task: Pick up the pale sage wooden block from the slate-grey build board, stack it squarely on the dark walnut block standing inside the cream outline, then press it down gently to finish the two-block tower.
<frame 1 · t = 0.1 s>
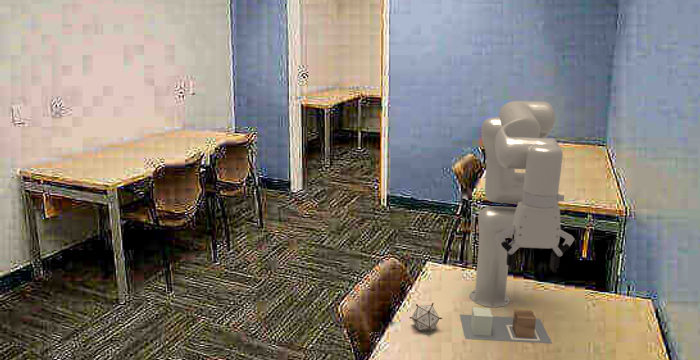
hand: (531, 269, 135), 31 cm above the table, tool pointing down, fingers open, 9 cm apart
game die: (424, 331, 168), on the table
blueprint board: (503, 330, 168), on the table
walnut block: (522, 332, 166), point 1 cm above the table, touching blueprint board
sage block: (480, 330, 166), point 1 cm above the table, touching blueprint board
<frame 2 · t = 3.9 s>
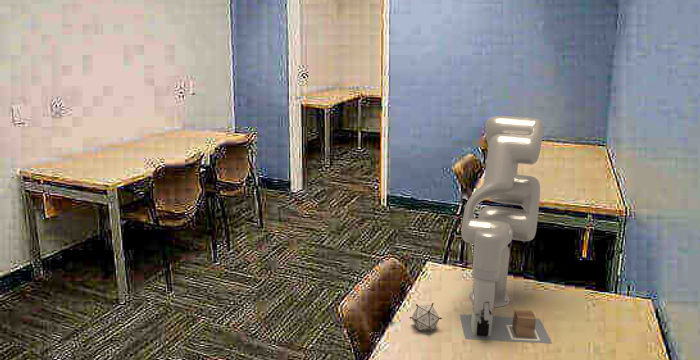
hand: (480, 329, 166), 1 cm above the table, tool pointing down, fingers closed on sage block, 5 cm apart
sage block: (480, 330, 166), point 1 cm above the table, touching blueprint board, gripper
everything else where it was.
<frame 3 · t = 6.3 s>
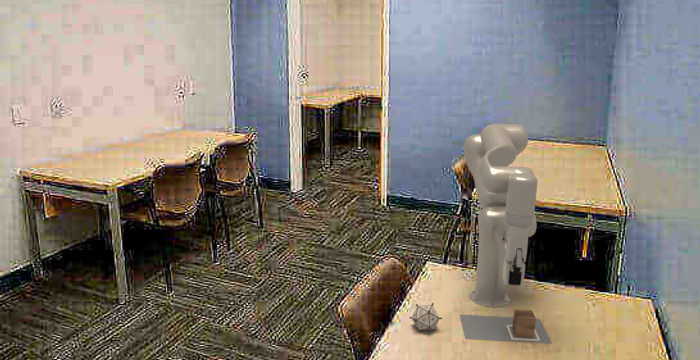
hand: (512, 279, 161), 17 cm above the table, tool pointing down, fingers closed on sage block, 5 cm apart
sage block: (512, 280, 161), point 17 cm above the table, touching gripper
everything else where it was.
when the fingers open (8 cm above the table, at t = 8.7 s): sage block drops 1 cm, resting on walnut block.
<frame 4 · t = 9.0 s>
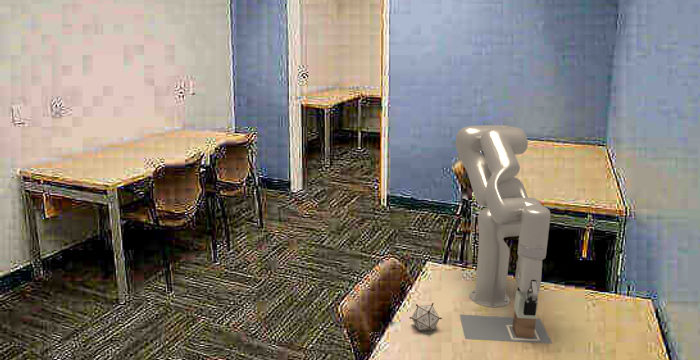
hand: (525, 307, 163), 9 cm above the table, tool pointing down, fingers open, 8 cm apart
walnut block: (522, 332, 166), point 1 cm above the table, touching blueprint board, sage block
sage block: (524, 314, 164), point 7 cm above the table, touching walnut block
everything else where it was.
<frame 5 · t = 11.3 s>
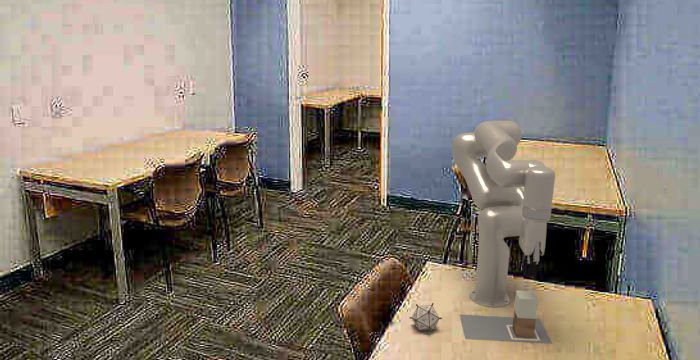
hand: (529, 274, 161), 19 cm above the table, tool pointing down, fingers closed
nothing on the table moved.
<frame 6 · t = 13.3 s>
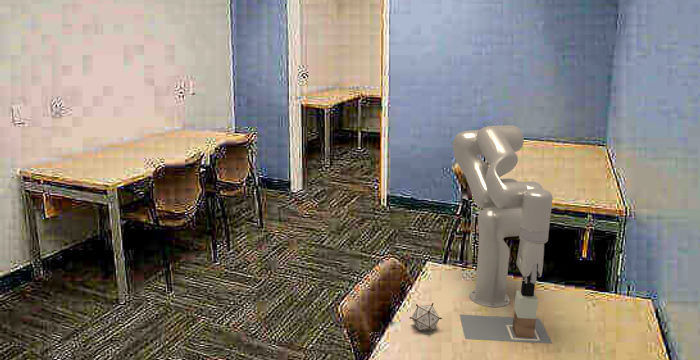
hand: (527, 294, 162), 13 cm above the table, tool pointing down, fingers closed
sage block: (524, 314, 164), point 7 cm above the table, touching gripper, walnut block
everything else where it was.
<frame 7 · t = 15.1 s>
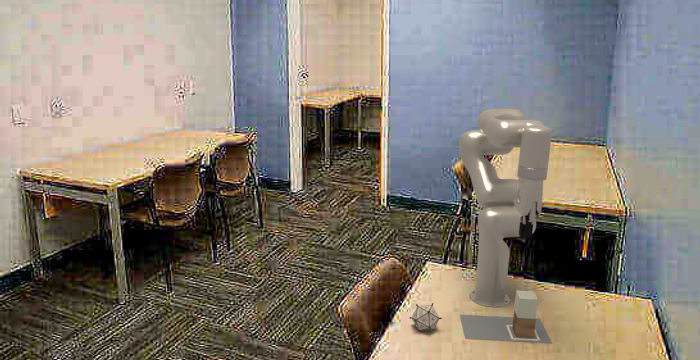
hand: (525, 236, 158), 30 cm above the table, tool pointing down, fingers closed
sage block: (524, 314, 164), point 7 cm above the table, touching walnut block
everything else where it was.
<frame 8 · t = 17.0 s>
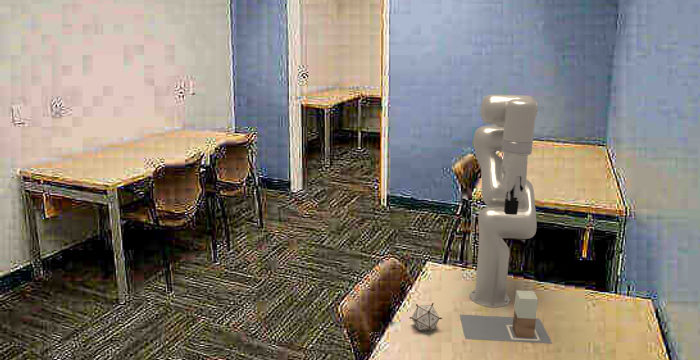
hand: (510, 213, 155), 37 cm above the table, tool pointing down, fingers closed
nothing on the table moved.
at the end: sage block 0.0 cm from the walnut block (horizontally); sage block point 6.8 cm above the table; sage block tilted 0° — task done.
